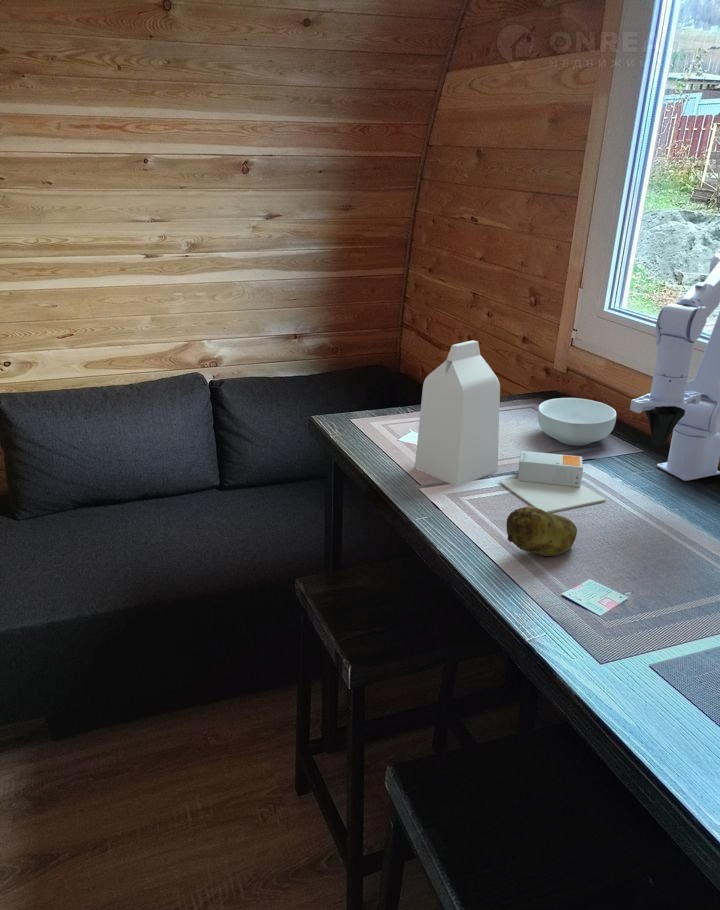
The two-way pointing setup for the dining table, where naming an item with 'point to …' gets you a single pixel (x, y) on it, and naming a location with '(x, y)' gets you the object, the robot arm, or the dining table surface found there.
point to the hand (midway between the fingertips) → (658, 444)
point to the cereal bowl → (576, 420)
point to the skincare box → (550, 468)
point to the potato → (540, 531)
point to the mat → (552, 495)
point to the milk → (459, 418)
